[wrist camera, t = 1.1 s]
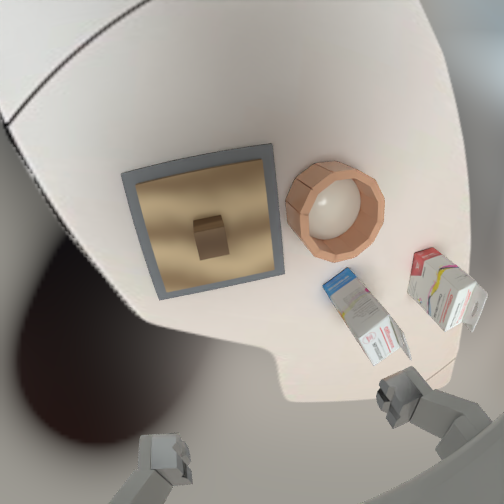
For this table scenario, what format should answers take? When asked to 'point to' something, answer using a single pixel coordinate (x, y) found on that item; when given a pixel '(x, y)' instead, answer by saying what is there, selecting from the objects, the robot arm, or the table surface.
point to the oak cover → (208, 224)
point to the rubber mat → (195, 164)
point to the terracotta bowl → (335, 210)
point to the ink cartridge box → (445, 290)
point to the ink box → (365, 317)
